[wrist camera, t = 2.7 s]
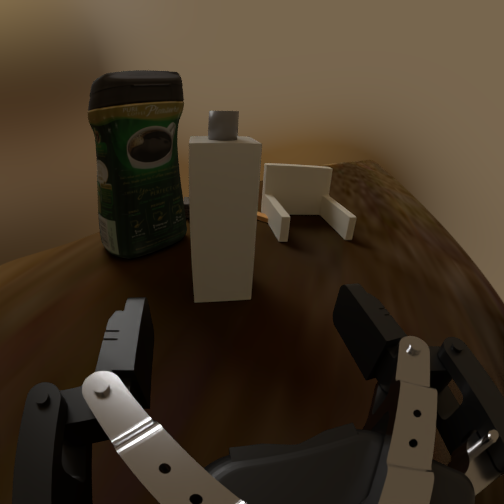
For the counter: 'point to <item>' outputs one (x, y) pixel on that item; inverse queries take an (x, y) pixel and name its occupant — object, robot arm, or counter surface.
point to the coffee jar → (138, 160)
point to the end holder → (301, 198)
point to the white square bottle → (223, 209)
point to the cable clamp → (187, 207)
